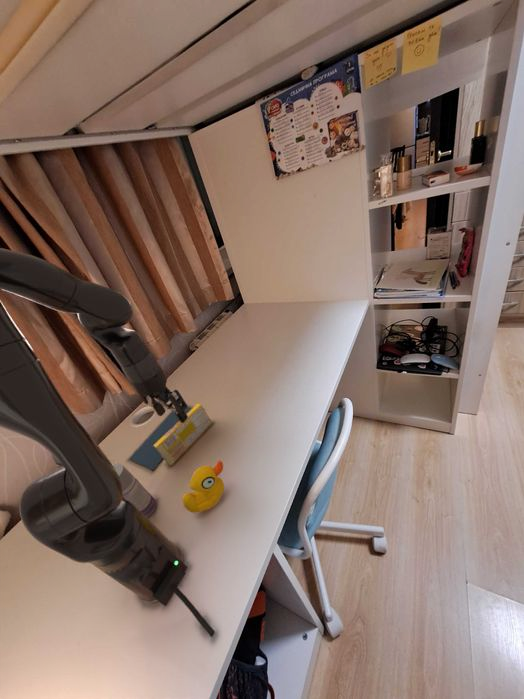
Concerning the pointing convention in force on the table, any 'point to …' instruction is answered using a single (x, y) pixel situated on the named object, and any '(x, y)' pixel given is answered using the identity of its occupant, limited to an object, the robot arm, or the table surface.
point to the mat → (147, 451)
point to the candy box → (183, 434)
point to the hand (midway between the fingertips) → (173, 416)
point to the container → (135, 491)
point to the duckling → (204, 488)
